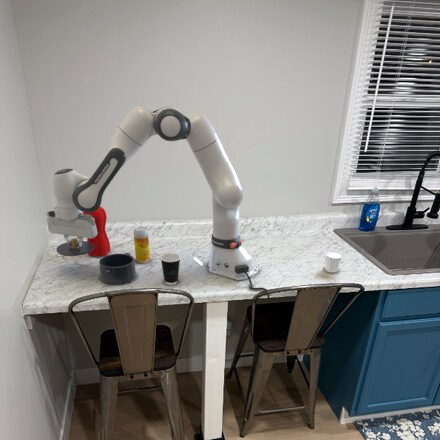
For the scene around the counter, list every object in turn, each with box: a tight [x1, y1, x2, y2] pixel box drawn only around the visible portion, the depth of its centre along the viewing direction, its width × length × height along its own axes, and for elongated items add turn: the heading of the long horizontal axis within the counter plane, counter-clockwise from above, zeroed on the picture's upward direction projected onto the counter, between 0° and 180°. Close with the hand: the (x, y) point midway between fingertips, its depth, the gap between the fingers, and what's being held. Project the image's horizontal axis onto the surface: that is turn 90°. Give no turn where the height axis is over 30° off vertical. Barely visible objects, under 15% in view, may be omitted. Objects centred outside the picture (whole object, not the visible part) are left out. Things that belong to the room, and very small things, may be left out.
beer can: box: [133, 226, 151, 264], centre depth 175 cm, size 6×6×15 cm
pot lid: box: [55, 237, 94, 257], centre depth 163 cm, size 15×15×5 cm
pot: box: [98, 252, 137, 286], centre depth 163 cm, size 14×19×8 cm
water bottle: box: [82, 206, 111, 258], centre depth 179 cm, size 9×11×25 cm
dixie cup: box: [159, 252, 181, 286], centre depth 159 cm, size 8×8×11 cm
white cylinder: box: [324, 251, 343, 273], centre depth 175 cm, size 7×7×7 cm
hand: (75, 245), depth 163 cm, fingers closed on pot lid, 2 cm apart
